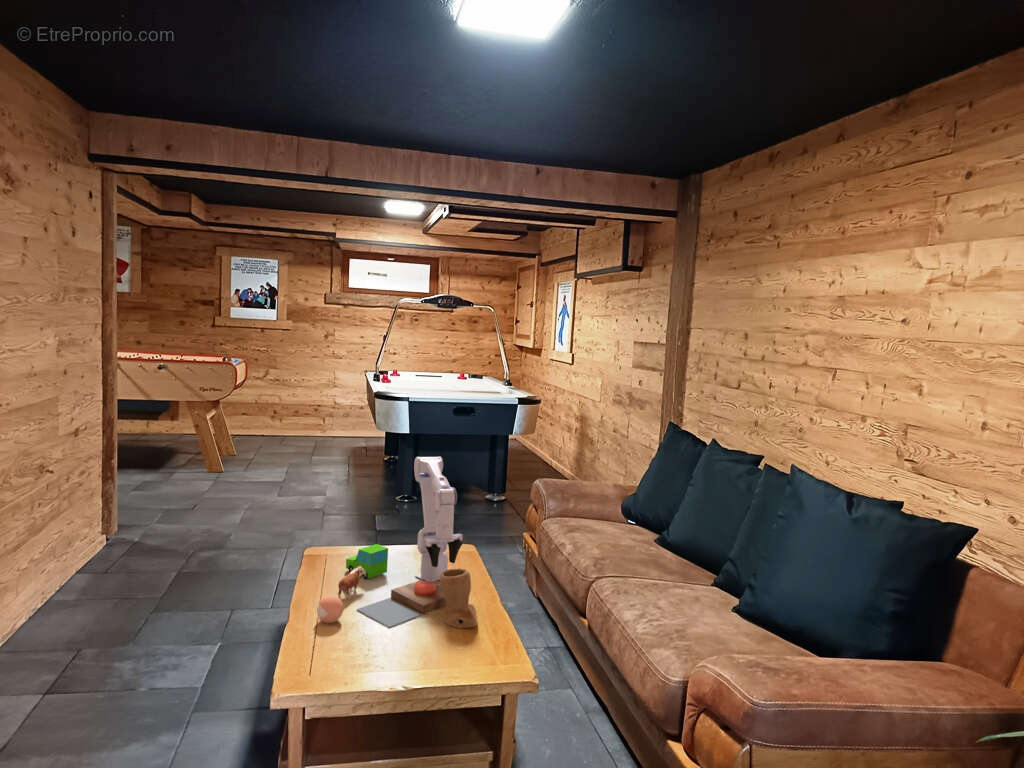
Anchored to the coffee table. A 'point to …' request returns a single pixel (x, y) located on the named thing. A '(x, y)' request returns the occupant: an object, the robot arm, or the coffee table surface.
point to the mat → (389, 612)
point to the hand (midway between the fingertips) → (443, 564)
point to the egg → (330, 608)
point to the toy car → (370, 560)
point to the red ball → (424, 588)
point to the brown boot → (458, 598)
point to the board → (419, 598)
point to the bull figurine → (350, 582)
